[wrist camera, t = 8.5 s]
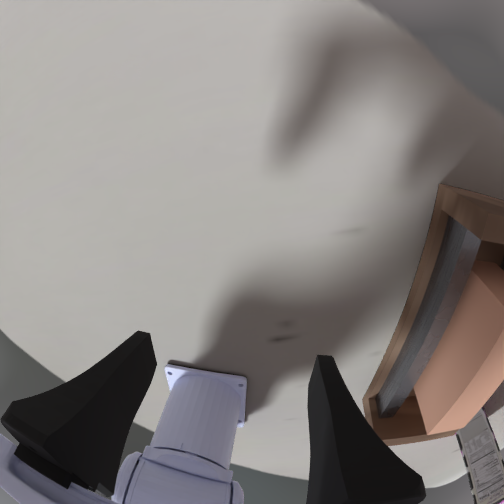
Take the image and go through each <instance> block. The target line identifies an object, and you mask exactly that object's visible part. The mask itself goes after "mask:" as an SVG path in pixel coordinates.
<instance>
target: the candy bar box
mask: <svg viewBox="0 0 504 504" xmlns="http://www.w3.org/2000/svg"><path fill="white" fill-rule="evenodd" d="M455 434H456V437H457V440H458V443H459V446H460V450H461V453H462V457H463V460H464V463H465V467H466V471H467V475H468V479H469V483H470V487H471V491H472V495H473V500H474V504H504V461H503V458H502V455H501V452H500V449H499V447H498V444H497V441H496V438H495V436H494V433H493V430H492V428H491V425H490V423H489V420H488V418H487V415H486V413H485V411H484V408H483V407H482V408H481V409H480V410H479V411H478V412H477V414H476V415H475V416H474V417H473V418H472V419H471V420H470V421H469V422H468V424H467V425H466V426H465V427H464V428H461V429H459V430H458V431H457V432H456V433H455Z"/></svg>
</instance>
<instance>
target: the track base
mask: <svg viewBox="0 0 504 504" xmlns="http://www.w3.org/2000/svg"><path fill="white" fill-rule="evenodd" d="M475 260H478V261H485V262H493V263H496V264H497V265H498V266H499V267H500V268H501V269H502V270H503V271H504V201H503V200H500V199H497V198H493V197H490V196H486V195H483V194H479V193H476V192H472V191H468V190H464V189H460V188H456V187H452V186H448V185H444V184H439V187H438V192H437V197H436V202H435V206H434V211H433V215H432V219H431V223H430V227H429V231H428V235H427V239H426V243H425V246H424V250H423V253H422V256H421V260H420V263H419V266H418V269H417V273H416V276H415V279H414V282H413V285H412V288H411V290H410V293H409V296H408V299H407V302H406V304H405V307H404V310H403V312H402V315H401V317H400V320H399V322H398V325H397V327H396V330H395V332H394V334H393V337H392V339H391V342H390V344H389V346H388V348H387V351H386V353H385V355H384V357H383V359H382V361H381V364H380V366H379V368H378V370H377V372H376V374H375V376H374V378H373V380H372V382H371V384H370V386H369V388H368V390H367V392H366V394H365V395H364V397H363V399H362V400H363V407H364V413H365V419H366V420H367V422H368V423H369V424H370V426H371V427H372V428H373V430H374V431H375V432H376V433H377V435H378V436H379V437H380V438H381V440H382V441H383V442H384V443H385V444H386V445H387V446H393V445H401V444H408V443H415V442H421V441H427V440H433V439H438V438H443V437H448V436H452V435H454V434H455V433H456V432H457V431H458V430H459V429H456V430H452V431H447V432H442V433H437V434H431V435H427V432H426V429H425V425H424V421H423V418H422V414H421V411H420V407H419V404H418V401H417V397H416V394H415V391H414V388H413V387H414V385H415V384H416V382H417V381H418V379H419V377H420V376H421V374H422V372H423V371H424V369H425V367H426V366H427V364H428V362H429V360H430V359H431V357H432V355H433V353H434V351H435V350H436V348H437V346H438V344H439V342H440V340H441V338H442V336H443V334H444V332H445V330H446V328H447V326H448V324H449V322H450V320H451V318H452V315H453V313H454V311H455V309H456V307H457V304H458V302H459V300H460V297H461V295H462V293H463V290H464V288H465V285H466V283H467V280H468V277H469V275H470V272H471V269H472V267H473V264H474V261H475Z"/></svg>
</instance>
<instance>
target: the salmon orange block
mask: <svg viewBox="0 0 504 504" xmlns="http://www.w3.org/2000/svg"><path fill="white" fill-rule="evenodd" d="M503 380H504V271H503V270H502V269H501V268H500V267H499V266H498V265H497V264H496V263H493V262H485V261H478V260H475V261H474V264H473V267H472V269H471V272H470V275H469V277H468V280H467V283H466V285H465V288H464V290H463V293H462V295H461V297H460V300H459V302H458V304H457V307H456V309H455V311H454V313H453V315H452V318H451V320H450V322H449V324H448V326H447V328H446V330H445V332H444V334H443V336H442V338H441V340H440V342H439V344H438V346H437V348H436V350H435V351H434V353H433V355H432V357H431V359H430V360H429V362H428V364H427V366H426V367H425V369H424V371H423V372H422V374H421V376H420V377H419V379H418V381H417V382H416V384H415V385H414V387H413V388H414V391H415V394H416V397H417V401H418V404H419V407H420V411H421V414H422V418H423V421H424V425H425V429H426V432H427V435H431V434H437V433H442V432H447V431H452V430H456V429H461V428H464V427H465V426H466V425H467V424H468V422H469V421H470V420H471V419H472V418H473V417H474V416H475V415H476V414H477V412H478V411H479V410H480V409H481V408H482V407H483V405H484V404H485V403H486V402H487V401H488V399H489V398H490V397H491V396H492V394H493V393H494V392H495V390H496V389H497V388H498V387H499V385H500V384H501V383H502V381H503Z"/></svg>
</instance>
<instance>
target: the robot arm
mask: <svg viewBox="0 0 504 504" xmlns="http://www.w3.org/2000/svg"><path fill="white" fill-rule="evenodd" d="M156 366H157V362H156V358H155V354H154V349H153V345H152V341H151V336H150V333H146V332H142V331H137V332H136V333H134V334H133V335H132V336H131V337H129V338H128V339H127V340H126V341H124V342H123V343H122V344H121V345H120V346H118V347H117V348H116V349H115V350H113V351H112V352H111V353H110V354H108V355H107V356H106V357H105V358H103V359H102V360H101V361H99V362H98V363H96V364H95V365H94V366H92V367H91V368H90V369H88V370H87V371H85V372H84V373H82V374H80V375H79V376H77V377H75V378H73V379H72V380H70V381H68V382H66V383H64V384H62V385H60V386H58V387H56V388H54V389H51V390H49V391H46V392H44V393H41V394H38V395H35V396H32V397H29V398H25V399H21V400H17V401H13V402H12V403H11V405H10V406H9V407H8V409H7V410H6V412H5V413H4V415H3V416H2V418H1V423H2V424H3V426H4V427H5V428H6V429H7V430H8V431H9V432H10V433H11V434H12V436H13V437H15V439H16V440H17V441H18V442H19V445H18V447H17V446H16V445H15V444H14V443H12V442H11V441H10V440H8V439H7V438H6V437H4V436H3V435H2V434H1V433H0V487H1V488H2V489H3V490H4V491H6V492H7V493H8V494H9V495H10V496H11V497H12V498H14V499H15V500H16V501H17V502H19V503H20V504H243V502H244V493H243V490H242V488H241V487H240V485H239V483H238V482H237V481H233V480H232V475H233V471H230V470H229V465H230V460H231V455H232V450H233V444H234V439H235V434H236V428H237V427H243V426H244V420H245V404H246V388H247V379H246V378H245V377H243V376H237V375H229V374H222V373H216V372H209V371H203V370H197V369H192V368H186V367H181V366H176V365H171V364H167V365H166V366H165V373H166V377H167V381H168V385H169V389H170V395H169V397H168V400H167V402H166V405H165V407H164V410H163V412H162V415H161V418H160V420H159V423H158V425H157V428H156V431H155V433H154V436H153V438H152V441H151V444H150V446H146V447H145V450H144V453H143V454H142V453H140V452H134V453H133V454H130V455H128V456H127V457H126V458H125V460H124V462H123V463H122V466H121V468H120V470H119V472H118V469H119V465H120V460H121V456H122V452H123V449H124V445H125V442H126V438H127V435H128V433H129V429H130V427H131V424H132V422H133V419H134V417H135V415H136V413H137V411H138V409H139V407H140V405H141V403H142V401H143V399H144V397H145V395H146V392H147V390H148V388H149V386H150V384H151V381H152V378H153V376H154V372H155V369H156ZM308 419H309V434H310V456H311V457H310V473H309V485H308V494H307V502H306V504H418V503H420V502H421V501H423V500H424V498H425V497H426V493H425V486H424V483H423V480H422V476H420V475H419V474H418V473H416V472H415V471H414V470H412V469H411V468H410V467H409V466H408V465H406V464H405V463H404V462H403V461H402V460H401V459H400V458H399V457H398V456H396V455H395V454H394V452H393V451H392V450H391V449H390V448H389V447H388V446H387V445H386V444H385V443H384V442H383V441H382V440H381V438H380V437H379V436H378V435H377V433H376V432H375V431H374V430H373V428H372V427H371V426H370V424H369V423H368V422H367V420H366V419H365V417H364V416H363V414H362V413H361V411H360V409H359V408H358V406H357V405H356V403H355V401H354V399H353V398H352V396H351V394H350V392H349V390H348V388H347V387H346V385H345V383H344V381H343V379H342V377H341V374H340V372H339V370H338V368H337V365H336V363H335V361H334V358H333V357H332V356H327V355H317V358H316V361H315V365H314V368H313V372H312V375H311V378H310V382H309V385H308ZM117 473H118V475H117ZM88 489H89V490H91V491H93V492H97V493H99V494H101V495H103V496H106V497H110V496H112V501H111V500H109V499H107V498H104V497H102V496H100V495H97V494H95V493H93V492H91V491H89V490H88Z"/></svg>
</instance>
